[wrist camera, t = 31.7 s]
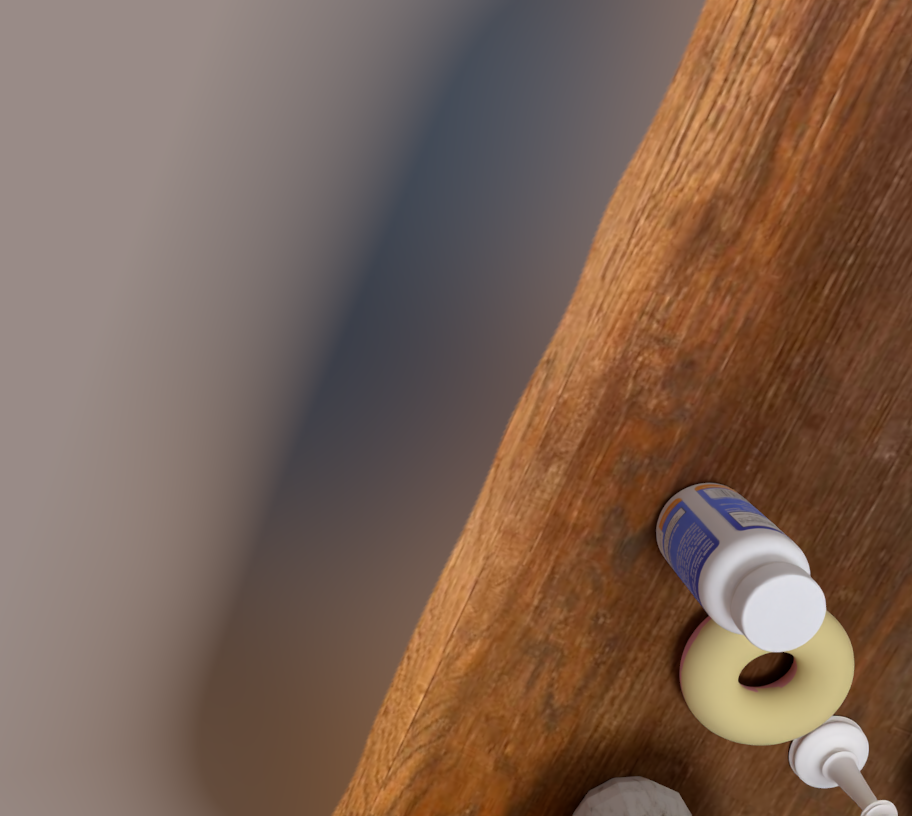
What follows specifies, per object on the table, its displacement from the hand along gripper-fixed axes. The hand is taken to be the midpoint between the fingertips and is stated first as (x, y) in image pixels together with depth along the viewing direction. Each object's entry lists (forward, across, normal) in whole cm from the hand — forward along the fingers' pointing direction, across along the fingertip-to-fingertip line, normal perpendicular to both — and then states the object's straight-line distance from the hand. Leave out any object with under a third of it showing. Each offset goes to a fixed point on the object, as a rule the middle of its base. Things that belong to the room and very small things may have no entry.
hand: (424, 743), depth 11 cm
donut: (+33, +16, -26) cm, 45 cm away
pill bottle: (+33, +14, -16) cm, 39 cm away
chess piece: (+33, +20, -34) cm, 51 cm away
